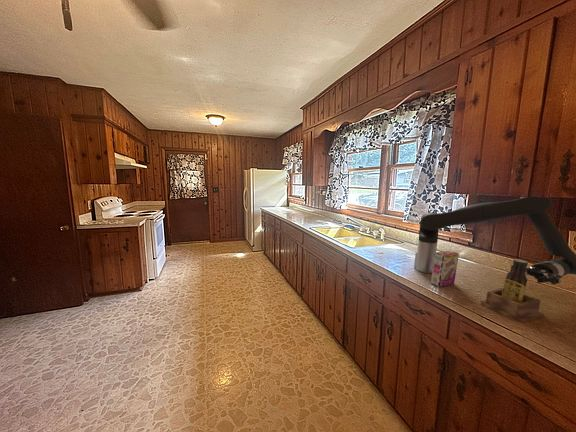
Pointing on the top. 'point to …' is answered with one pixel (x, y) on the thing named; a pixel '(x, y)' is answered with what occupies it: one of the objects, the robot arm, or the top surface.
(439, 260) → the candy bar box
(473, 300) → the top surface
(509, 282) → the sauce bottle
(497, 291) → the walnut caddy
